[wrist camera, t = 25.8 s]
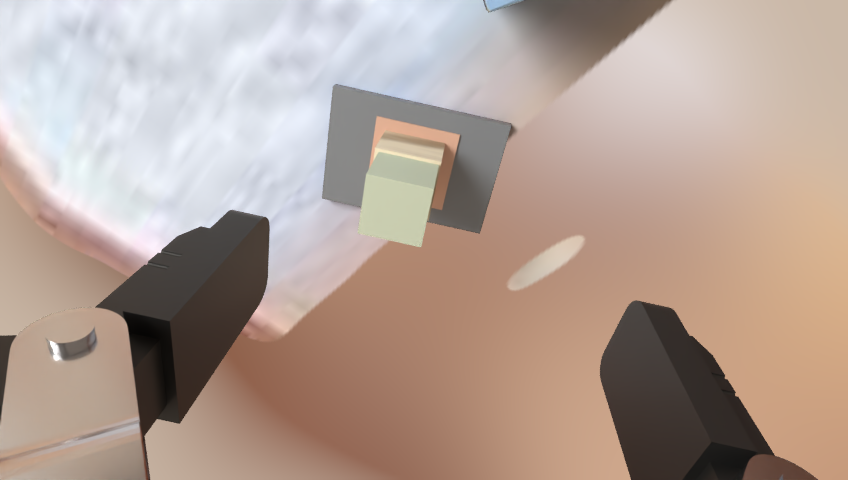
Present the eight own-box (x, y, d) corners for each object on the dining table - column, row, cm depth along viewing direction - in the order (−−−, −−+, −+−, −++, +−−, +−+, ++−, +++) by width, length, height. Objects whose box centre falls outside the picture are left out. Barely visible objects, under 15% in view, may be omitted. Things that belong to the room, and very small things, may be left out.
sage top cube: (378, 151, 38) (366, 173, 34) (439, 164, 38) (433, 188, 34) (370, 206, 41) (357, 233, 36) (427, 218, 41) (421, 247, 37)
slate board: (335, 83, 42) (332, 86, 41) (510, 123, 42) (511, 127, 41) (324, 194, 48) (321, 199, 47) (479, 228, 48) (479, 234, 47)
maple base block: (385, 130, 43) (375, 147, 38) (445, 143, 43) (441, 162, 38) (377, 185, 45) (366, 207, 41) (433, 197, 45) (428, 221, 41)
